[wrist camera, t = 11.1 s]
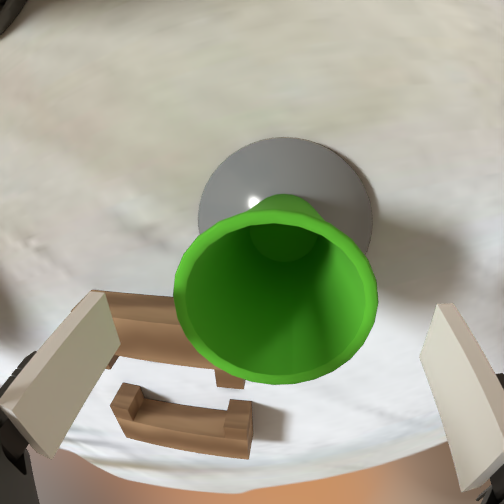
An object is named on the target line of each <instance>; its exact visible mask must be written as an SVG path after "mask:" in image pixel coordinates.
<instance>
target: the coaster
mask: <svg viewBox="0 0 504 504" xmlns="http://www.w3.org/2000/svg"><path fill="white" fill-rule="evenodd" d="M276 194H291V195H295V196H298V197H300V198H302V199H304V200H305V201H307V202H308V203H309V204H310V205H311V206H312V207H313V208H314V209H315V210H316V211H317V212H318V214H319V215H320V216H321V217H322V218H323V219H324V220H325V221H326V222H329V223H330V224H332V225H333V226H335V227H336V228H337V229H339V230H340V231H342V232H343V233H344V234H346V235H347V236H348V237H350V238H351V239H352V240H353V241H354V242H355V244H356V245H357V246H358V247H359V249H360V250H361V251H362V252H363V254H364V255H365V254H366V252H367V249H368V246H369V243H370V239H371V233H372V211H371V205H370V201H369V197H368V195H367V192H366V190H365V187H364V185H363V184H362V182H361V180H360V179H359V177H358V175H357V174H356V173H355V172H354V170H353V169H352V168H351V167H350V166H349V165H348V164H347V163H346V162H345V161H344V160H343V159H342V158H341V157H340V156H338V155H337V154H335V153H334V152H333V151H331V150H329V149H328V148H326V147H324V146H322V145H320V144H317V143H314V142H312V141H309V140H304V139H300V138H291V137H278V138H269V139H264V140H260V141H257V142H254V143H252V144H249V145H247V146H245V147H243V148H241V149H239V150H238V151H236V152H235V153H234V154H232V155H231V156H229V157H228V158H227V159H226V160H225V161H224V162H223V163H221V164H220V165H219V167H218V168H217V169H216V170H215V172H214V173H213V174H212V176H211V177H210V179H209V181H208V182H207V184H206V186H205V189H204V191H203V194H202V197H201V201H200V205H199V213H198V227H199V233H200V234H202V233H203V232H205V231H206V230H207V229H209V228H210V227H212V226H213V225H214V224H216V223H217V222H219V221H221V220H224V219H226V218H229V217H232V216H234V215H237V214H240V213H243V212H246V211H248V210H249V209H251V208H252V207H253V206H255V205H256V204H258V203H259V202H261V201H262V200H264V199H265V198H267V197H270V196H272V195H276Z"/></svg>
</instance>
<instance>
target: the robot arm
mask: <svg viewBox="0 0 504 504" xmlns="http://www.w3.org/2000/svg"><path fill="white" fill-rule="evenodd" d="M26 1H27V0H0V35H1V34H2V33H3V32H4V31H5V29H6V28H7V27H8V26H9V25H10V24H11V22H12V21H13V20H14V19H15V17H16V16H17V14H18V13H19V12H20V10H21V9H22V7H23V5H24V4H25V2H26ZM120 344H121V343H120V340H119V337H118V334H117V331H116V328H115V325H114V322H113V319H112V315H111V312H110V309H109V305H108V302H107V298H106V295H105V293H103V292H92V291H90V292H89V293H88V294H87V295H86V297H85V298H84V299H83V300H82V301H81V302H80V303H79V304H78V305H77V306H76V307H75V309H74V310H73V311H72V312H71V313H70V314H69V315H68V316H67V317H66V319H65V320H64V321H63V322H62V323H61V324H60V325H59V327H58V328H57V329H56V330H55V331H54V332H53V333H52V335H51V336H50V337H49V338H48V339H47V340H46V342H45V343H44V344H43V345H42V346H41V348H40V349H39V350H38V351H34V352H33V353H31V354H30V355H29V356H27V357H26V358H24V360H23V361H22V362H21V363H20V365H19V366H18V367H17V369H15V371H14V372H13V373H12V376H10V377H9V378H8V379H7V381H6V382H5V383H4V384H3V386H2V387H1V388H0V504H39V499H38V496H37V491H36V486H35V482H34V477H33V472H32V467H31V461H30V455H29V453H28V451H27V449H26V447H27V446H28V444H30V445H31V447H32V448H33V449H34V450H35V451H36V452H37V453H39V454H41V455H43V456H45V457H47V458H49V459H51V460H52V459H53V457H54V456H55V454H56V452H57V450H58V448H59V447H60V445H61V443H62V441H63V439H64V438H65V436H66V434H67V432H68V430H69V429H70V427H71V425H72V423H73V422H74V420H75V418H76V417H77V415H78V413H79V411H80V410H81V408H82V406H83V405H84V403H85V401H86V400H87V398H88V396H89V394H90V393H91V391H92V389H93V388H94V386H95V385H96V383H97V381H98V380H99V378H100V376H101V375H102V373H103V371H104V370H105V368H106V367H107V365H108V363H109V362H110V360H111V359H112V357H113V355H114V354H115V352H116V351H117V349H118V348H119V346H120ZM419 358H420V361H421V363H422V366H423V369H424V371H425V374H426V377H427V379H428V382H429V385H430V388H431V391H432V393H433V396H434V399H435V402H436V405H437V408H438V411H439V414H440V417H441V420H442V423H443V427H444V430H445V433H446V436H447V440H448V443H449V447H450V450H451V453H452V457H453V461H454V465H455V468H456V473H457V477H458V481H459V485H460V489H461V492H465V491H468V490H471V489H475V488H478V487H480V486H482V485H483V484H484V483H485V482H486V481H487V480H488V479H489V478H490V481H491V484H492V485H491V486H489V487H488V488H487V489H486V490H485V491H484V492H483V493H481V494H480V495H479V496H478V498H477V499H476V501H479V500H480V499H481V498H483V497H484V498H483V500H482V502H481V504H504V374H503V373H500V374H495V372H494V371H493V369H492V367H491V365H490V363H489V362H488V360H487V358H486V356H485V354H484V353H483V351H482V349H481V347H480V346H479V344H478V342H477V341H476V339H475V337H474V336H473V334H472V332H471V331H470V329H469V327H468V326H467V324H466V323H465V321H464V319H463V318H462V316H461V315H460V313H459V312H458V310H457V308H456V307H455V305H454V304H453V303H444V304H437V305H436V308H435V312H434V315H433V318H432V321H431V324H430V328H429V331H428V333H427V336H426V339H425V342H424V345H423V348H422V351H421V353H420V356H419Z"/></svg>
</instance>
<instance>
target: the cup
mask: <svg viewBox="0 0 504 504" xmlns="http://www.w3.org/2000/svg"><path fill="white" fill-rule="evenodd" d="M173 297H174V303H175V308H176V314H177V318H178V321H179V323H180V325H181V327H182V329H183V331H184V334H185V336H186V337H187V339H188V340H189V341H190V342H191V344H192V345H193V346H194V347H195V349H196V350H197V351H198V352H199V353H200V354H201V355H202V356H203V357H205V358H206V359H207V360H208V361H209V362H211V363H212V364H213V365H214V366H216V367H218V368H220V369H222V370H223V371H225V372H227V373H229V374H231V375H233V376H236V377H239V378H242V379H245V380H248V381H251V382H257V383H264V384H271V385H280V384H296V383H301V382H305V381H310V380H314V379H317V378H319V377H321V376H324V375H326V374H328V373H330V372H333V371H334V370H336V369H337V368H339V367H340V366H341V365H343V364H344V363H346V362H347V361H348V360H350V359H351V358H352V357H353V356H354V354H355V353H356V352H357V351H358V350H359V349H360V348H361V346H362V345H363V344H364V342H365V340H366V338H367V337H368V335H369V333H370V331H371V329H372V327H373V325H374V322H375V317H376V312H377V307H378V292H377V282H376V278H375V276H374V273H373V271H372V268H371V266H370V264H369V261H368V259H367V258H366V256H365V255H364V254H363V252H362V251H361V250H360V249H359V247H358V246H357V245H356V244H355V242H354V241H353V240H352V239H351V238H350V237H348V236H347V235H346V234H344V233H343V232H342V231H340V230H339V229H337V228H336V227H335V226H333V225H332V224H330V223H329V222H326V221H325V220H324V219H323V218H322V217H321V216H320V215H319V214H318V212H317V211H316V210H315V209H314V208H313V207H312V206H311V205H310V204H309V203H308V202H307V201H305V200H304V199H302V198H300V197H298V196H295V195H291V194H276V195H272V196H270V197H267V198H265V199H264V200H262V201H261V202H259V203H258V204H256V205H255V206H253V207H252V208H251V209H249V210H248V211H246V212H243V213H240V214H237V215H234V216H232V217H229V218H226V219H224V220H221V221H219V222H217V223H216V224H214V225H213V226H212V227H210V228H209V229H207V230H206V231H205V232H203V233H202V234H200V235H199V236H198V237H197V238H196V239H195V241H194V242H193V243H192V244H191V246H190V247H189V248H188V249H187V251H186V252H185V253H184V254H183V257H182V259H181V262H180V264H179V266H178V269H177V271H176V274H175V282H174V292H173Z"/></svg>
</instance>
